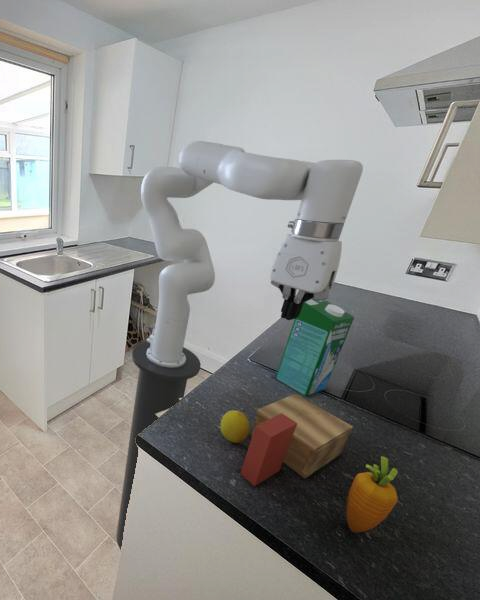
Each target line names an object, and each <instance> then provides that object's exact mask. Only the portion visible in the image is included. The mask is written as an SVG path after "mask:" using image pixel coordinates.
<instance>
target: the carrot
mask: <svg viewBox="0 0 480 600" xmlns="http://www.w3.org/2000/svg"><path fill="white" fill-rule="evenodd" d="M365 468H366V469H367V470H369V471H366V472H359V473H357V474H356V475H355V477H354V479H353V482H352V483H351V486H350V489H349V491H348V494H347V500H346V501H347V502H346V506H345V507H346V508H345V510H346V511H345V512H346V521H347V525H348V529H349V530H350V531H351V533H354V534H358V533H362V532H367V531H370V530H373V529H374V528H375V527H378V525H379V524H381V523H382V522H383V521H384V520H386V519H387V517H388V516H389V514H390V513H391V512H392V510H393V509H394V508H395V506H396V504H397V503H398V498H399V497H398V494H397V490H396V488H395V487H394V486H393V484H391V483H390V482H392V481H394V480H395V478H396V477H397V475H398V473H399V471H398V469H397V468H395V467H392V469H391V470H390V472H389V458H388V457H385V456H380V466H379V465H377V464H375V463H374V464H373V466H372V465H370V464H366V463H365Z"/></svg>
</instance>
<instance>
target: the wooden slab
mask: <svg viewBox="0 0 480 600" xmlns="http://www.w3.org/2000/svg"><path fill="white" fill-rule="evenodd" d="M256 413H257V415H258V414H259V415H261V416H262V417H264V418H265V419H267V420H269V419H271V418H273V417H275V416H277V415H279V414H281V413H282V414H284V415H285V416H287V417H288V418H290V419H292V420H293V421H295V422H296V423H297V426H296V429H295V431H294V434H293V438H294V439H296V440H297V441H299V442H300V443H302V444H303V445H304V446H306V447H307V448H309V449H310V450H312V451H313V452H315V451H317V450H319V449H320V448H322V447H324V446H325V445H327V444H329V443H330V442H332V441H334V440H335V439H337V438H339V437H340V436H342V435H343V434H345V433H347V432H348V431H350V430H351V431H352V430H353V428H354V426H353V425H351V424H349V423H347V422H346V421H344V420H342V419H340V418H339V417H337V416H335V415H334V414H332V413H330V412H328V411H327V410H325V409H323V408H321V407H319V406H318V405H316V404H314V403H312V402H311V401H309V400H308V399H306V398H303V397H302V396H300V395H299V394H297V393H293V394H290V395H288V396H286V397H284V398H282V399H279V400H277V401H274V402H271V403H269V404H267V405H264V406H262V407H260V408H257V410H256Z"/></svg>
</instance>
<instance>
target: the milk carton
mask: <svg viewBox="0 0 480 600" xmlns="http://www.w3.org/2000/svg"><path fill="white" fill-rule="evenodd" d="M354 319H355V316H354V315H352V314H350V313H349V312H347V311H345V310H344V309H343V308H341V307H340V306H338V305H335V304H333V303H332V302H329V300H327V299H324V300H319V299H310V300H308V301H306V302H304V303H303V306H302V309H301V312H300V315H299V316H298V317H297V318H296V319H293V323H292V327H291V329H290V332H289V336H288V338H287V341H286V344H285V347H284V351H283V353H282V357H281V359H280V363H279V366H278V368H277V371H276V374H275V379H276V380H278V381H280V382H281V383H283V384H285V385H286V386H288V387H290V388H291V389H293V390H295V391H296V392H298V393H300V394H301V395H303V396H305V397H308V396H310V395H312V394H316V393H318V392H322V391H324V390H326V389H327V386H328V384H329V382H330V379H331V377H332V374H333V371H334V369H335V366H336V364H337V362H338V358H339V357H340V354H341V352H342V349H343V347H344V344H345V342H346V339H347V336H348V334H349V332H350V330H351V327H352V325H353V322H354Z"/></svg>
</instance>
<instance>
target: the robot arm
mask: <svg viewBox="0 0 480 600" xmlns="http://www.w3.org/2000/svg"><path fill="white" fill-rule="evenodd" d="M178 156H179V157H178V165H179V167H175V166H158V167H154V168H151V169H150V170H148V171H147V172H146V174H145V175H144V177H143V179H142V182H141V187H140V200H141V204H142V206H143V209H144V212H145V214H146V217H147V219H148V222H149V226H150V230H151V235H152V238H153V242H154V246H155V250H156V254H157V256H158V258H159V259H160V260H162V261H166V262H173V261H183V262H179V263H173V264H170V265H169V264H168V266H166V267H164V268H163V269H162V270H161V272H160V273H159V277H158V291H159V292H158V293H159V294H158V305H157V313H156V320H155V327H154V333H153V334H150V335H149V337H148V338H146V342H149V343H150V348H148V349H147V353H146V355H147V358H148V359H149V360H150V361H151V362H153V363H155V364H157V365H159V366H163V367H168V368H176V367H180V366H182V365H184V364H185V362H186V356H185V355H184V354H183V353H182V351H183V347H184V346H185V340H186V335H187V329H188V324H189V320H190V312H191V306H190V302H189V299H188V295H193V294H198V293H199V294H200V293H204V292H207V291H209V290H210V289H212V287H213V286H214V284H215V281H216V274H215V273H216V272H215V268H214V265H213V262H212V257H211V252H210V249H209V245H208V242H207V240H206V238H205V236H204V234H203V233H202V232H201V231H199V230H198V229H195V228H183V227H182V225H181V222H180V219H179V215H178V212H177V210H176V208H175V207H174V206H173V205H172V204H171V202H170V201H169V200H168V199H169V198H171V199H172V198H173V199H189V198H193V197H194V196H196V195H197V194H199V193H201V192H202V191H204V190H205V189H206V188H208V187H209V186H211V185H213V184H218V185H220V186H223V187H224V188H226V189H228V190H231V191H234V192H236V193H240V194H242V195H246V196H249V197H252V198H257V199H260V200H269V201H271V200H272V201H273V200H274V201H300V204H299V207H298V211H297V214H296V218H295V219H294V220H290V221H288V222H287V228H289V229H291V234H289V233H288V234H286V235H285V237H284V239H283V241H282V243H281V244H280V247H279V249H278V252H277V253H276V256H275V259H274V261H273V263H272V267H271V269H270V273H269V278H270V280H271V281H270V284H271V285H272V286H274V287H276V288H277V289H279V291H280V293H281V294H282V299H283V302H282V306H281V309H280V312H281V314H280V318H281V319H285V320H286V321H292V320H295V319H296V318H297V317H298V316H299V315H300V312H301V309H302V306H303V303H304V302H306V301H308V300H310V299H319V300H324V299H325V300H327V299H329V296H330V295H329V294H330V290H331V289H332V288H333V286H334V284H335V281H336V278H337V274H338V272H339V271H338V270H339V267H340V263H341V258H342V249H343V241H341V240H340V238H341V234H342V232H343V229H344V226H345V223H346V220H347V218H348V215H349V211H350V209H351V206H352V203H353V200H354V197H355V195H356V194H355V193H356V192H357V189H358V186H359V183H360V180H361V177H362V174H363V171H364V166H363V163H361V161H358V160H353V159H326V160H319V161H317V162H312V161H305V160H298V159H292V158H282V157H275V156H268V155H263V154H256V153H252V152H246V150H245V149H244V148H243V147H240V146H234V145H229V144H228V145H227V144H223V143H217V142H213V141H205V140H196V141H192V142H190V143H188V144H187V145H185V146H184V147H183V148H182V149H181V151H180V153H179V155H178ZM297 290H298V291H297Z"/></svg>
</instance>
